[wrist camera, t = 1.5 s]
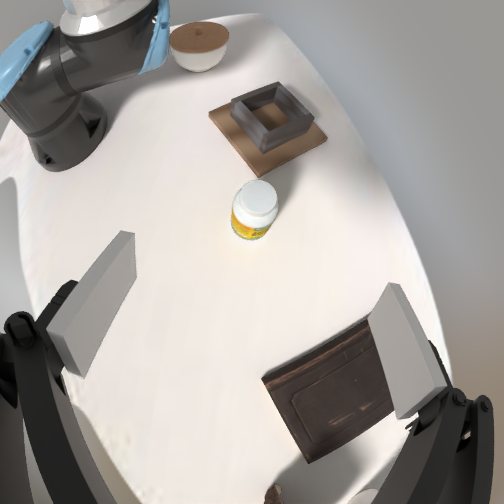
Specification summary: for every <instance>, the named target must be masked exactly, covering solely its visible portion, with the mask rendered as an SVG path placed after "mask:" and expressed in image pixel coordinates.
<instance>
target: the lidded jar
mask: <svg viewBox="0 0 504 504" xmlns="http://www.w3.org/2000/svg"><path fill="white" fill-rule="evenodd" d="M228 38H229V32H228V30H227V29H226V28H225V27H224V26H222V25H220V24H217V23H213V22H193V23H189V24H185V25H183V26H180V27H178V28H177V29H175V30H174V31H173V32H172V33H171V34H170V38H169V43H170V46H171V51H172V55H173V57H174V59H175V61H176V62H177V63H178V64H179V65H180V66H181V67H183V68H185V69H187V70H189V71H191V72H204V71H207V70H209V69H211V68H212V67H213V66H215V65H216V64H218V63H219V62H220V61H221V60H222V58H223V56H224V55H225V52H226V49H227V44H228Z"/></svg>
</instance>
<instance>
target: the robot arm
mask: <svg viewBox="0 0 504 504" xmlns="http://www.w3.org/2000/svg"><path fill="white" fill-rule="evenodd" d="M63 2H64V4H65V7H66V11H65V13H64V14H63V16H62V18H61V20H60V26H58V27H56V28H53V27H54V25H53V24H52V23H51V22H49V21H44V22H40V23H38V24H36V25H35V26H33V27H31V28H30V29H28V30H27V31H25V32H24V33H23V34H22V35H20V36H19V37H18V38H17V39H16V40H15V41H14V42H13V43H12V44H11V45H10V46H9V47H8V48H7V49H6V50H5V51H4V52H3V53H2V55H1V56H0V107H1V108H2V109H3V110H4V111H5V112H6V113H7V114H8V116H9V117H10V118H11V119H12V120H13V121H14V122H15V123H16V124H17V126H18V127H19V128H20V129H21V130H22V131H23V132H24V133H25V134H26V135H27V137H28V140H29V143H30V146H31V149H32V151H33V154H34V157H35V159H36V160H37V162H38V163H39V164H40V165H41V166H42V167H43V168H45V169H46V170H48V171H52V172H60V171H64V170H67V169H70V168H72V167H74V166H76V165H77V164H79V163H80V162H82V161H83V160H84V159H85V158H86V157H88V156H89V155H90V154H91V153H92V152H93V150H94V149H95V148H96V147H97V145H98V144H99V142H100V141H101V139H102V137H103V135H104V133H105V130H106V125H107V117H106V113H105V111H104V109H103V107H102V105H101V104H100V103H99V102H98V101H97V100H96V99H95V98H93V97H92V96H91V95H89V94H88V93H87V92H86V91H88V90H91V89H94V88H97V87H100V86H103V85H106V84H109V83H112V82H116V81H119V80H122V79H126V78H129V77H133V76H139V75H141V74H142V73H145V72H148V71H151V70H154V69H158V68H160V67H161V66H162V65H164V63H165V62H166V60H167V57H168V52H169V38H170V28H169V20H170V6H169V0H63ZM136 278H137V276H136V257H135V233H131V232H126V231H120V232H119V233H118V235H117V236H116V237H115V238H114V239H113V240H112V241H111V243H110V244H109V245H108V246H107V247H106V249H105V250H104V251H103V252H102V253H101V255H100V256H99V257H98V258H97V260H96V261H95V262H94V263H93V265H92V266H91V267H90V268H89V270H88V271H87V272H86V273H85V275H84V276H83V277H82V279H81V280H80V281H79V282H77V281H74V280H70V281H68V282H67V283H65V284H64V285H62V286H61V288H60V289H59V290H58V291H57V293H56V295H55V296H54V297H53V298H52V299H51V302H50V303H48V305H47V306H46V308H45V309H44V310H43V312H42V313H41V315H40V316H39V317H38V319H37V320H36V322H35V321H34V319H33V317H32V316H31V315H30V314H29V313H27V312H24V311H21V312H16V313H14V314H12V315H11V316H10V317H9V318H8V319H7V320H6V322H5V324H4V330H5V332H6V334H2V333H0V504H34V502H33V499H32V493H31V489H30V483H29V478H28V471H27V464H26V456H25V446H24V432H23V418H24V422H25V426H26V430H27V434H28V437H29V441H30V444H31V447H32V450H33V454H34V456H35V460H36V462H37V465H38V468H39V471H40V473H41V476H42V478H43V481H44V483H45V485H46V488H47V490H48V493H49V495H50V497H51V499H52V501H53V503H54V504H117V503H116V501H115V499H114V498H113V496H112V494H111V493H110V491H109V489H108V487H107V485H106V484H105V482H104V480H103V478H102V476H101V474H100V472H99V471H98V468H97V466H96V464H95V462H94V460H93V458H92V456H91V453H90V451H89V449H88V447H87V444H86V442H85V440H84V437H83V435H82V432H81V430H80V428H79V425H78V422H77V419H76V417H75V414H74V411H73V408H72V405H71V402H70V399H69V396H68V393H67V389H66V386H65V382H64V379H63V376H62V374H61V371H62V369H63V367H64V366H65V368H66V370H67V371H68V373H69V374H72V375H74V376H76V377H79V378H81V379H85V377H86V374H87V372H88V370H89V368H90V366H91V364H92V361H93V359H94V357H95V355H96V353H97V351H98V349H99V347H100V345H101V343H102V341H103V339H104V337H105V335H106V333H107V331H108V329H109V327H110V325H111V323H112V321H113V320H114V318H115V316H116V314H117V312H118V310H119V308H120V306H121V305H122V303H123V301H124V299H125V297H126V296H127V294H128V292H129V290H130V289H131V287H132V285H133V283H134V282H135V280H136ZM367 320H368V323H369V326H370V329H371V331H372V334H373V337H374V340H375V344H376V347H377V350H378V353H379V356H380V359H381V363H382V366H383V369H384V373H385V376H386V379H387V383H388V387H389V390H390V394H391V398H392V401H393V405H394V409H395V413H396V417H397V420H399V419H407V418H410V417H411V416H413V415H414V414H415V413H417V412H418V415H419V417H418V418H416V419H415V420H414V421H412V422H411V423H410V424H408V425H407V426H406V428H405V429H408V428H409V427H411V426H412V428H411V429H410V430H409V431H410V433H409V435H408V437H407V439H406V442H405V444H404V446H403V448H402V450H401V452H400V454H399V456H398V458H397V460H396V462H395V464H394V466H393V467H392V469H391V471H390V473H389V475H388V477H387V478H386V480H385V482H384V483H383V485H382V487H381V488H380V490H379V492H378V493H377V495H376V497H375V498H374V500H373V501H372V503H371V504H489V501H490V494H491V486H492V477H493V463H494V418H493V407H492V403H491V401H490V399H489V398H488V397H486V396H485V395H481V396H479V397H478V398H477V399H475V400H474V401H473V400H468V399H466V396H465V394H464V393H463V392H462V391H461V390H460V389H457V388H453V387H452V384H451V382H450V379H449V377H448V374H447V372H446V370H445V367H444V365H443V364H442V360H441V358H439V353H438V351H437V349H436V347H435V346H434V345H433V344H432V342H431V341H430V340H428V339H427V337H426V335H425V333H424V331H423V329H422V327H421V325H420V322H419V320H418V318H417V316H416V314H415V312H414V311H413V309H412V307H411V305H410V303H409V301H408V299H407V297H406V295H405V293H404V292H403V290H402V288H401V286H400V284H395V283H390V282H389V283H388V284H387V286H386V288H385V290H384V292H383V293H382V295H381V297H380V298H379V300H378V302H377V304H376V305H375V307H374V309H373V310H372V312H371V313H370V315H369V317H368V318H367ZM470 431H471V433H470V437H468V438H467V439H465V438H464V435H465V434H467V433H468V432H470Z"/></svg>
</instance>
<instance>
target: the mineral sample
mask: <svg viewBox="0 0 504 504" xmlns="http://www.w3.org/2000/svg"><path fill="white" fill-rule="evenodd" d="M274 484H275V483H274ZM280 493H281V487H280V485H278V486H277V484H276V485H275V487H273V488H272V489H270V490H269V491H267V492H266V494H265V502H264V504H284V503H283V502H282V500H281V498H280Z"/></svg>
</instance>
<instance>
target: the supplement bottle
mask: <svg viewBox="0 0 504 504" xmlns="http://www.w3.org/2000/svg"><path fill="white" fill-rule="evenodd" d="M277 213H278V200H277V193H276V190H275V189H274V187H273V186H272V185H271V184H270V183H268V182H266V181H263V180H252V181H250V182H248V183H246V184H245V185H244V186H243V188H241V189H240V190H239V191H238V192H237V193H236V195H235V197H234V200H233V205H232V215H231V226H232V229H233V231H234V232H235V234H236V235H237V236H238V237H240V238H242V239H244V240H257V239H260V238H261V237H263V236H264V235H265V234H266V232H267V231H268V229H269V227H270V226H271V224H272V222H273V221H274V219H275V218H276V216H277Z"/></svg>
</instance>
